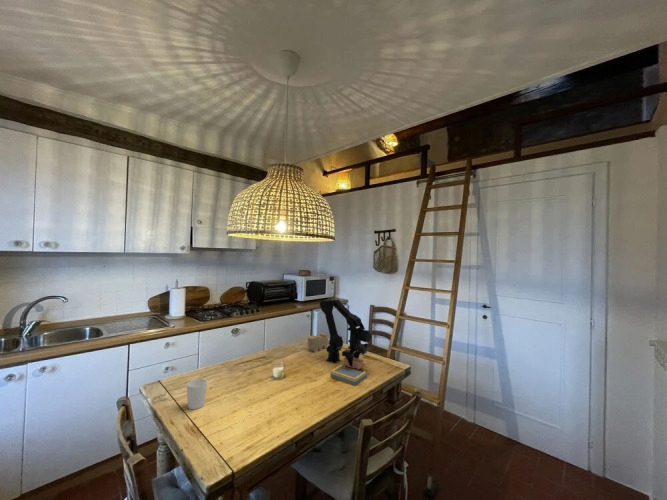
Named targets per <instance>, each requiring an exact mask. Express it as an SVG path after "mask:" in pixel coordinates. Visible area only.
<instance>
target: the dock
mask: <svg viewBox="0 0 667 500" xmlns="http://www.w3.org/2000/svg"><path fill="white" fill-rule="evenodd" d="M330 378H331V379H335V380H338V381H340V382H343V383H346V384H349V385H352V386H354V387H356V386H357V385H359V384H360V383H362V381H363V380H365V379H367V378H368V373H367V371H359V370H355V368H352V367H345V365H344V364H340V365H338V366H336V367H335V368H334V369H331V370H330Z"/></svg>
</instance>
